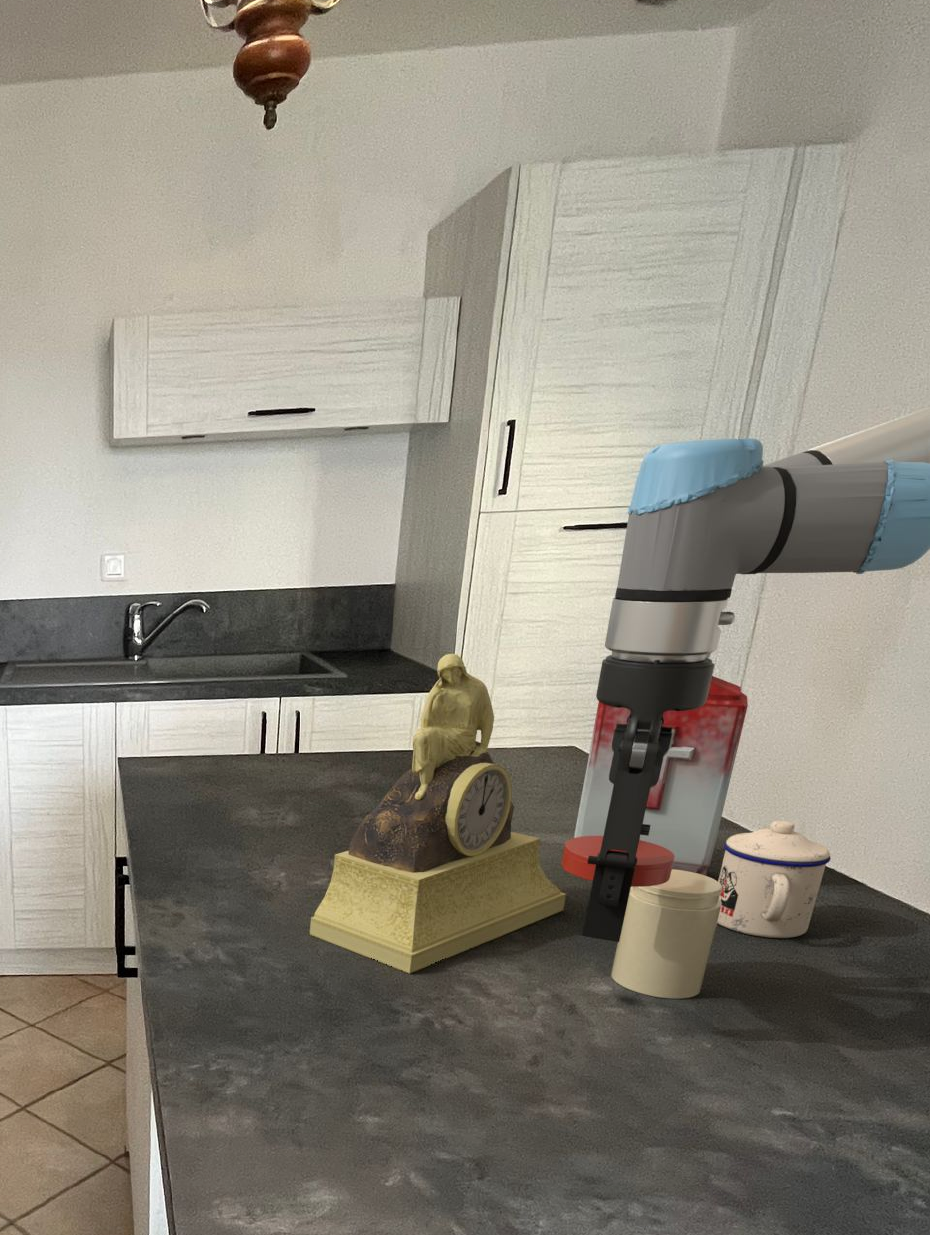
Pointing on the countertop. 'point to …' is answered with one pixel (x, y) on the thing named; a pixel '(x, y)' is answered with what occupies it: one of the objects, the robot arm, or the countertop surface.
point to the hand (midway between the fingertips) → (604, 920)
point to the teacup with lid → (770, 881)
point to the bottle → (674, 776)
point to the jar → (668, 936)
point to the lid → (651, 857)
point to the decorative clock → (438, 847)
